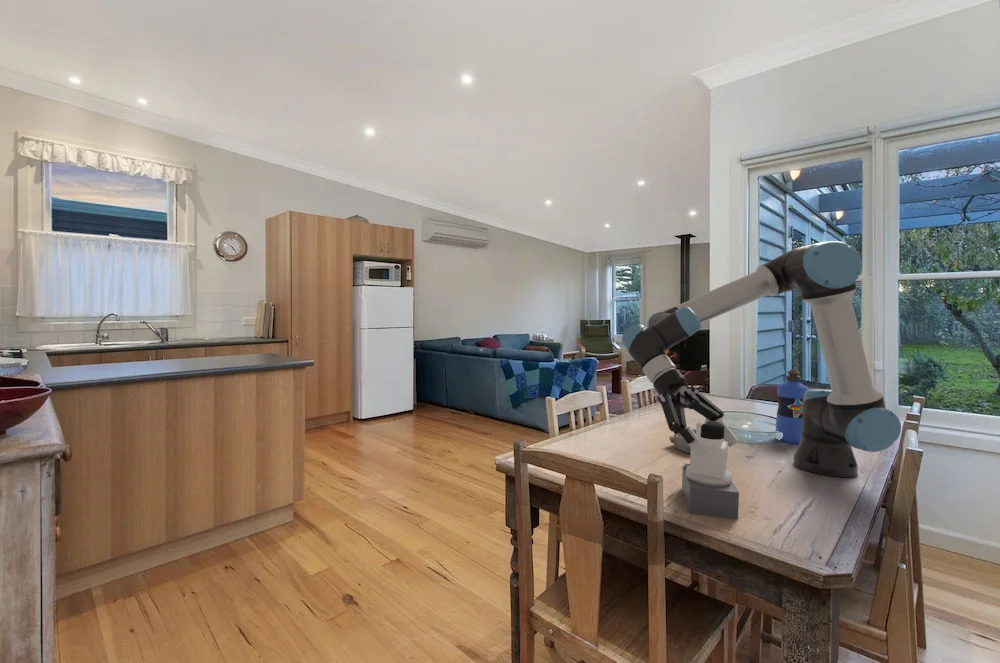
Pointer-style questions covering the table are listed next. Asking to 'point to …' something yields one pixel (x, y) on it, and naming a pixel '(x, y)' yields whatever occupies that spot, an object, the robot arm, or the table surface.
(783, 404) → the water bottle
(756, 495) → the table surface
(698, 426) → the medicine bottle
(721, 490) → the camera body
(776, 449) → the table surface
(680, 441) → the dish
